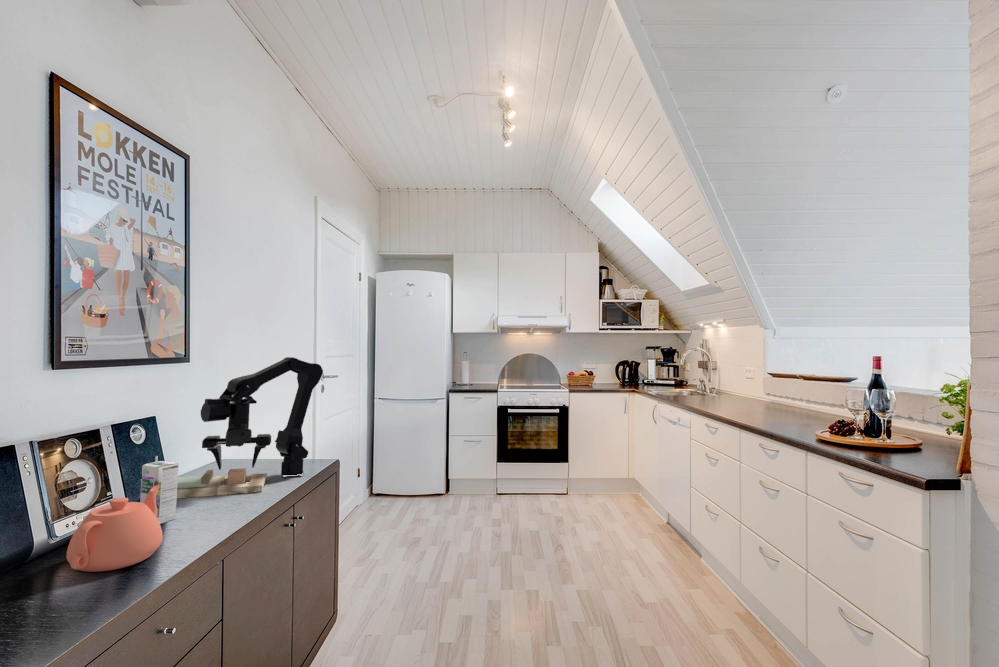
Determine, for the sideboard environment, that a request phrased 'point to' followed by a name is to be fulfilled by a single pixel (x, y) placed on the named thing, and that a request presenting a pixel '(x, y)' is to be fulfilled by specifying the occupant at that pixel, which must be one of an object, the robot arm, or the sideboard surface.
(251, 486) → the puzzle board
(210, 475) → the cover
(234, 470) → the block
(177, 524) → the sideboard surface
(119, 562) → the teapot
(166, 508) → the syrup box
